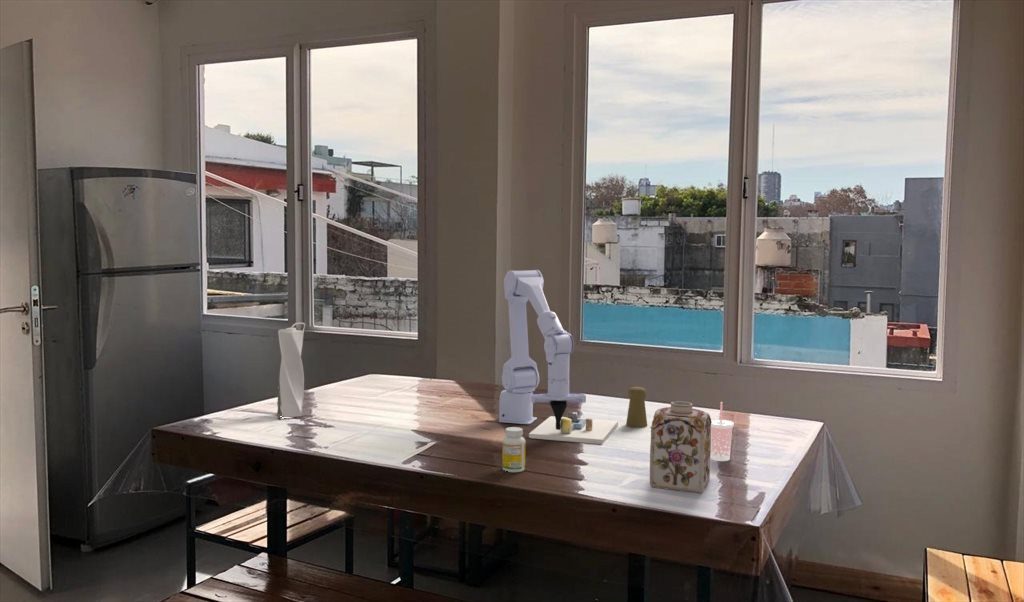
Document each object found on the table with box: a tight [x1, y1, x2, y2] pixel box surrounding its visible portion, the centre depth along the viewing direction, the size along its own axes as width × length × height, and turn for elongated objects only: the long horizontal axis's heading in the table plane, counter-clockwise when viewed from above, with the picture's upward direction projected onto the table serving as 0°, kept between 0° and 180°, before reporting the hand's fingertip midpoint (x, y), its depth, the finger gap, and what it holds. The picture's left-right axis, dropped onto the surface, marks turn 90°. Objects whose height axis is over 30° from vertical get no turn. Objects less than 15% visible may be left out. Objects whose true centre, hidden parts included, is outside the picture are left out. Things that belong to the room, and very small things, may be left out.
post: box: [566, 411, 579, 423], centre depth 229 cm, size 3×3×5 cm
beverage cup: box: [710, 401, 735, 462], centre depth 201 cm, size 6×6×14 cm
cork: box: [625, 386, 648, 429], centre depth 236 cm, size 6×6×11 cm
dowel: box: [585, 418, 593, 431], centre depth 225 cm, size 2×2×4 cm
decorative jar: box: [649, 400, 712, 494], centre depth 182 cm, size 12×12×18 cm
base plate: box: [528, 415, 619, 445], centre depth 228 cm, size 20×22×1 cm
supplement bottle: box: [501, 426, 526, 473], centre depth 192 cm, size 5×5×10 cm
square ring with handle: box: [560, 417, 587, 433], centre depth 226 cm, size 13×6×3 cm, turn 164°
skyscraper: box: [276, 321, 306, 419], centre depth 244 cm, size 8×8×28 cm
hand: (558, 428), depth 222 cm, fingers closed, pressing on square ring with handle
